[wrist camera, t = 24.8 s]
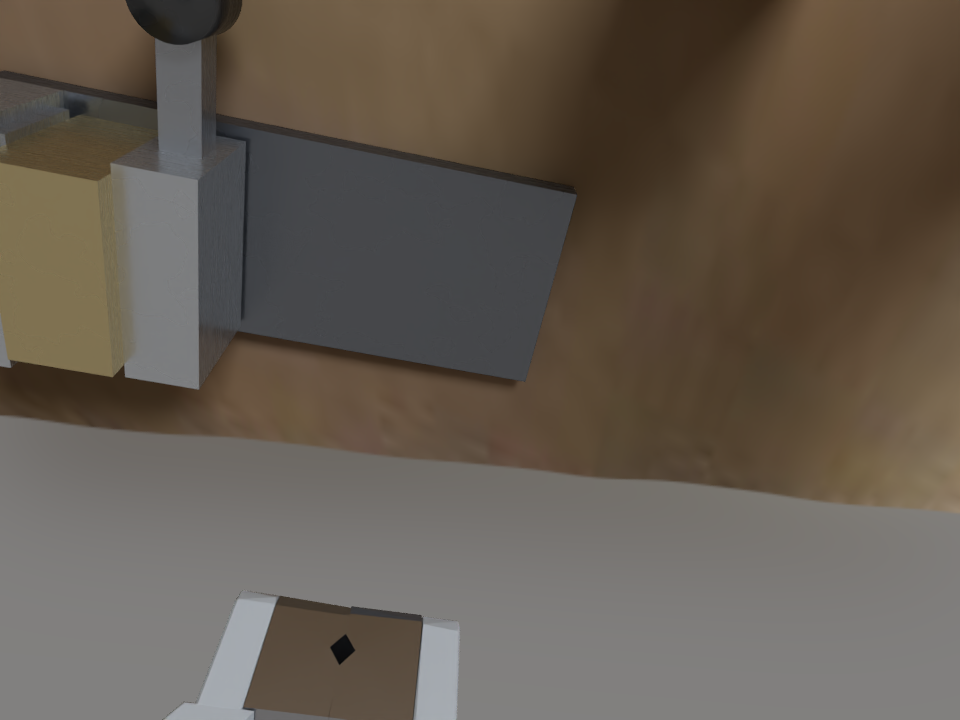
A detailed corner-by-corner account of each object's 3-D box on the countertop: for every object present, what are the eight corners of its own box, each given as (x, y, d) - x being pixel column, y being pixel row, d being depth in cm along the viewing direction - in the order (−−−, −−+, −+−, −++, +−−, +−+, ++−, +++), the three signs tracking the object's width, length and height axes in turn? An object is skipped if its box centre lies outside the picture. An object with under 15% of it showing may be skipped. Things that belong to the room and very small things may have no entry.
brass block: (176, 134, 30) (97, 181, 24) (180, 300, 34) (112, 377, 28) (79, 114, 29) (-27, 157, 23) (95, 285, 33) (8, 359, 27)
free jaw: (251, -47, 26) (196, -45, 21) (240, 325, 34) (198, 389, 29) (169, -65, 26) (94, -68, 21) (177, 314, 34) (125, 377, 29)
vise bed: (574, 187, 32) (594, 244, 26) (524, 369, 37) (531, 454, 31) (4, 70, 30) (-124, 102, 23) (33, 282, 35) (-66, 355, 28)
